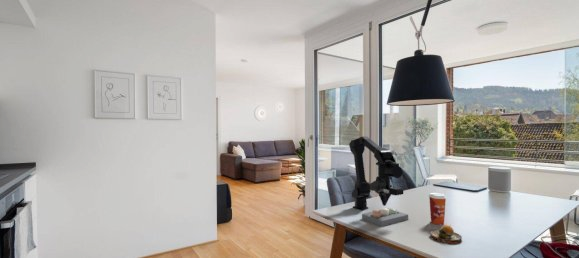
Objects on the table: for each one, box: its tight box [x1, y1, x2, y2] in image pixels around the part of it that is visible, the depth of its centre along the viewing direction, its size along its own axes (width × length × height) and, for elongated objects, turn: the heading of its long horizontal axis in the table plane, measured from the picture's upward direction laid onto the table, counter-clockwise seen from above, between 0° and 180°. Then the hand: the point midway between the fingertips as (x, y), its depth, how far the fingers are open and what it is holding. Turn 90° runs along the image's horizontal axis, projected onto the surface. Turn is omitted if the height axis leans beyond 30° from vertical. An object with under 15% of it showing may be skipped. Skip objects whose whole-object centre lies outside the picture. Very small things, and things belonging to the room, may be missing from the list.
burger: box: [429, 224, 463, 245], centre depth 119 cm, size 12×12×8 cm
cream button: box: [380, 207, 390, 216], centre depth 144 cm, size 4×4×4 cm
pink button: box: [371, 209, 381, 218], centre depth 141 cm, size 4×4×4 cm
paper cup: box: [428, 192, 447, 226], centre depth 138 cm, size 8×8×14 cm
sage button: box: [389, 208, 398, 214], centre depth 147 cm, size 4×4×4 cm
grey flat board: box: [361, 208, 409, 227], centre depth 144 cm, size 13×19×2 cm
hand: (384, 205), depth 143 cm, fingers closed
